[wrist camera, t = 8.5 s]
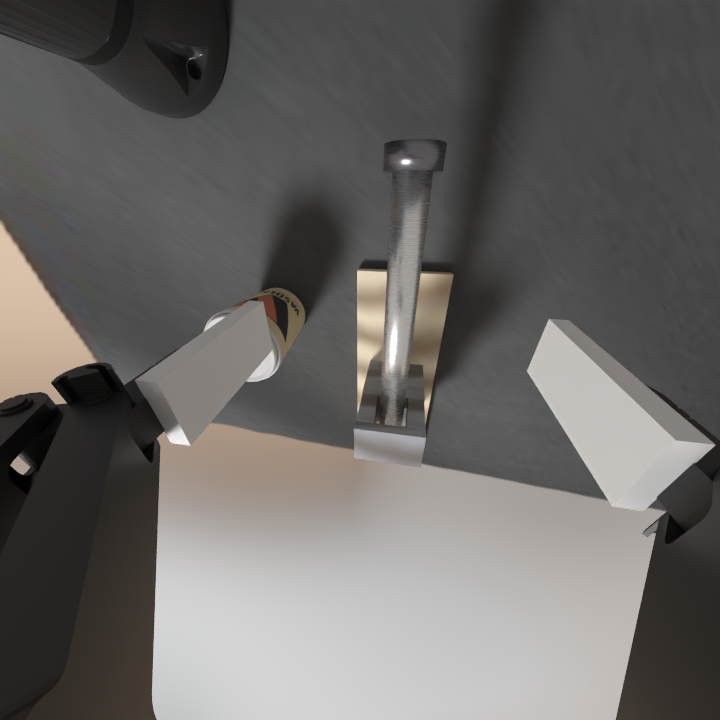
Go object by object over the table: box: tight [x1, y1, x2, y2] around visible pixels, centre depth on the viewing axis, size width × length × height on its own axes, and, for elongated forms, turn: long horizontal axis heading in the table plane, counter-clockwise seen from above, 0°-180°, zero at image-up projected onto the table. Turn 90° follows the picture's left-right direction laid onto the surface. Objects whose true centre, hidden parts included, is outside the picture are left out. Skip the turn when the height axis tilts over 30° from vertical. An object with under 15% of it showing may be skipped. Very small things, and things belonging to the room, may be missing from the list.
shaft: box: [379, 139, 447, 426], centre depth 26 cm, size 28×4×4 cm, turn 0°
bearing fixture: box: [354, 268, 454, 467], centre depth 37 cm, size 32×12×15 cm, turn 0°
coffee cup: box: [204, 288, 305, 382], centre depth 36 cm, size 9×9×12 cm
